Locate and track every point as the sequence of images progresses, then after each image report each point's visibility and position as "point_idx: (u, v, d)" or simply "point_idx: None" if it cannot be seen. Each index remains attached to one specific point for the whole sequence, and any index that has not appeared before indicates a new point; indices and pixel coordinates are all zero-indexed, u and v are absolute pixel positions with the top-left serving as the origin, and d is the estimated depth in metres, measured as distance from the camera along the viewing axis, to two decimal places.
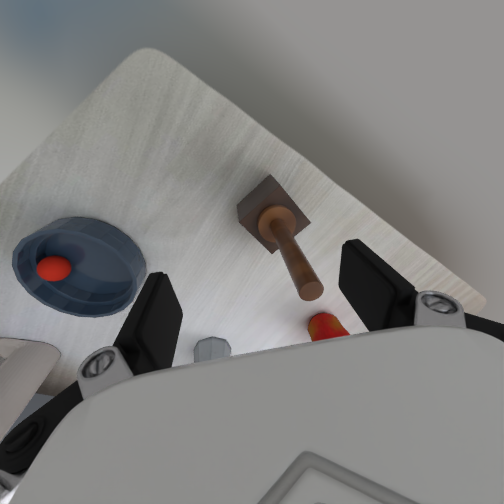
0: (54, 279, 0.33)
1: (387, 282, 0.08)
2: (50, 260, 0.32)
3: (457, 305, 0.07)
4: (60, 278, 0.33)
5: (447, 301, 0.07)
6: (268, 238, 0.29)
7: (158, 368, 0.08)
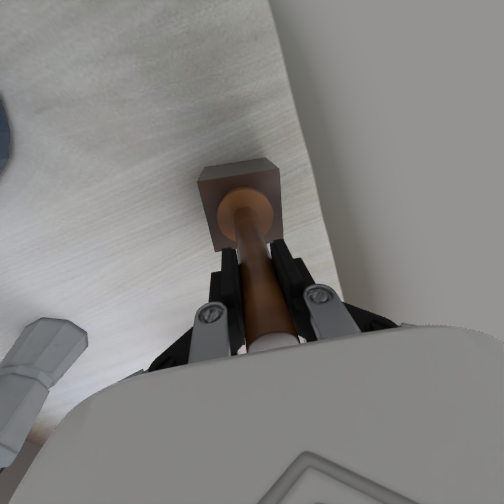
0: None
1: (286, 276, 0.09)
2: None
3: (330, 290, 0.08)
4: None
5: (322, 289, 0.09)
6: (223, 228, 0.19)
7: None
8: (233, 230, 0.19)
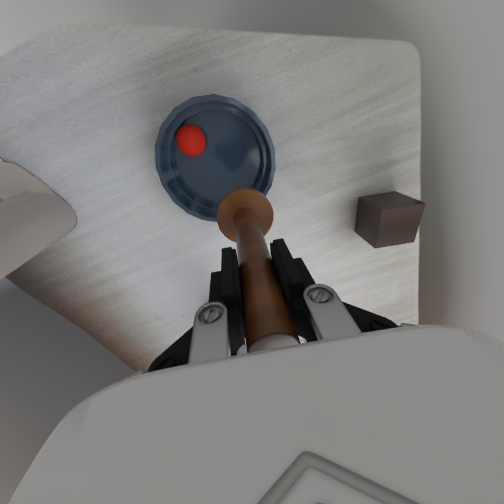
0: (190, 151, 0.29)
1: (286, 276, 0.09)
2: (200, 131, 0.29)
3: (330, 290, 0.08)
4: (193, 154, 0.30)
5: (322, 289, 0.09)
6: (224, 228, 0.19)
7: None
8: (233, 231, 0.20)
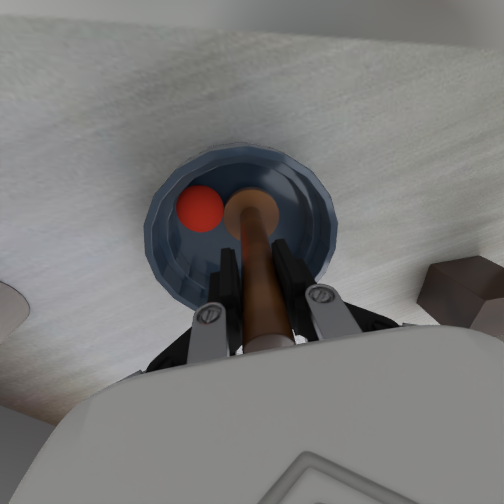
0: (197, 228, 0.18)
1: (288, 276, 0.09)
2: (216, 198, 0.18)
3: (332, 290, 0.08)
4: (202, 231, 0.18)
5: (323, 288, 0.09)
6: (230, 228, 0.19)
7: None
8: (239, 230, 0.20)
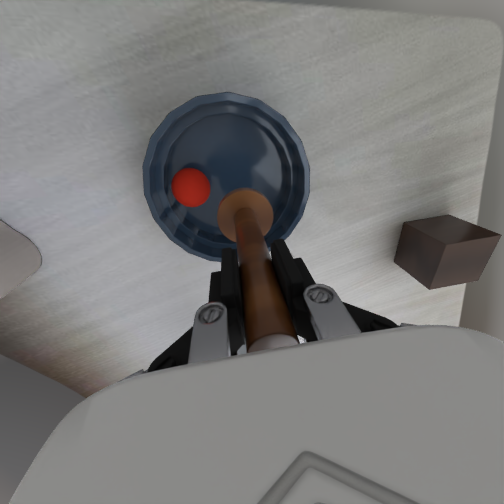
0: None
1: (286, 276, 0.09)
2: (207, 194, 0.23)
3: (331, 290, 0.08)
4: None
5: (322, 289, 0.09)
6: (224, 229, 0.19)
7: None
8: (234, 231, 0.20)
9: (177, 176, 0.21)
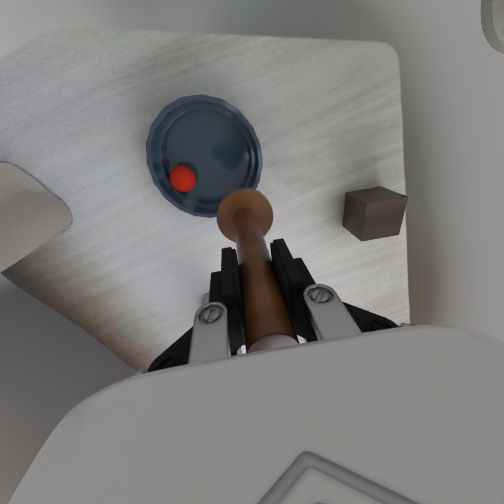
0: None
1: (286, 276, 0.09)
2: (194, 184, 0.35)
3: (331, 290, 0.08)
4: None
5: (322, 289, 0.09)
6: (224, 229, 0.19)
7: None
8: (233, 231, 0.20)
9: (174, 184, 0.33)
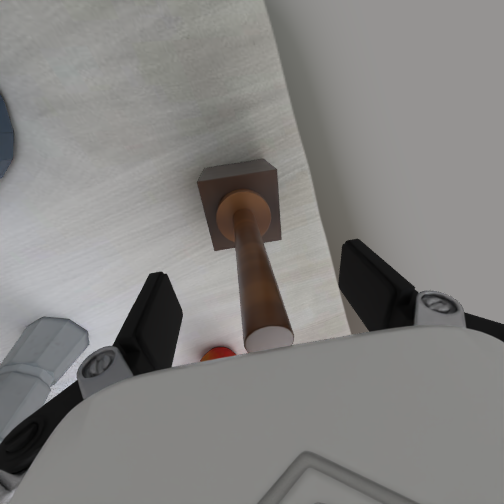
0: None
1: (387, 282, 0.08)
2: None
3: (457, 305, 0.07)
4: None
5: (447, 301, 0.07)
6: (223, 229, 0.20)
7: (158, 368, 0.08)
8: (232, 231, 0.20)
9: None
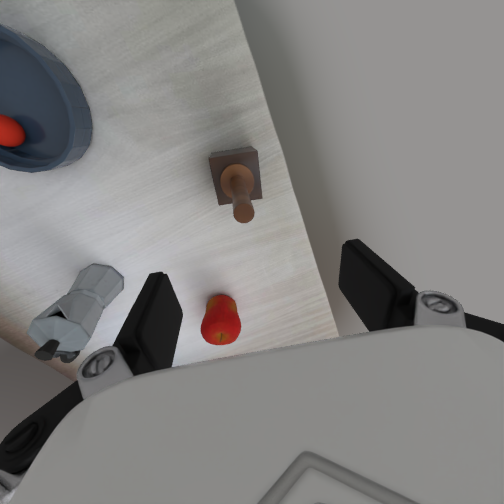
0: None
1: (387, 282, 0.08)
2: (24, 136, 0.32)
3: (457, 305, 0.07)
4: None
5: (447, 301, 0.07)
6: (224, 189, 0.32)
7: (158, 368, 0.08)
8: (230, 190, 0.32)
9: None
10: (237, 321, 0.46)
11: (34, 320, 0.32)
